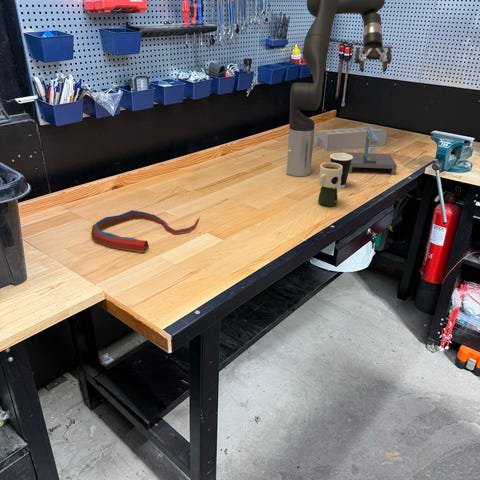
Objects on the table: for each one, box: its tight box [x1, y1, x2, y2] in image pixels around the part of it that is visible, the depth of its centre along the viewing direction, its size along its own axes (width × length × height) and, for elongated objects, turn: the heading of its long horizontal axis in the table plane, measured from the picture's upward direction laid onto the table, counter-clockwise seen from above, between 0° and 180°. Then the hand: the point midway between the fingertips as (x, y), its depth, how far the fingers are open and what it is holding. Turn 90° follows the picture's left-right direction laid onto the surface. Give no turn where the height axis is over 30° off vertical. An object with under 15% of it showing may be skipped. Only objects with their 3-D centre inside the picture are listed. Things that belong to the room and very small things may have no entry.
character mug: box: [317, 161, 343, 207], centre depth 147 cm, size 11×7×13 cm, turn 136°
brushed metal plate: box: [344, 151, 398, 176], centre depth 181 cm, size 18×14×4 cm
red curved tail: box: [90, 210, 201, 253], centre depth 132 cm, size 31×22×5 cm
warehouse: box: [313, 126, 389, 152], centre depth 211 cm, size 30×14×8 cm, turn 108°
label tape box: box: [363, 124, 379, 162], centre depth 177 cm, size 9×4×12 cm, turn 173°
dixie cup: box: [329, 152, 353, 189], centre depth 162 cm, size 8×8×11 cm
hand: (373, 71), depth 183 cm, fingers open, 8 cm apart
